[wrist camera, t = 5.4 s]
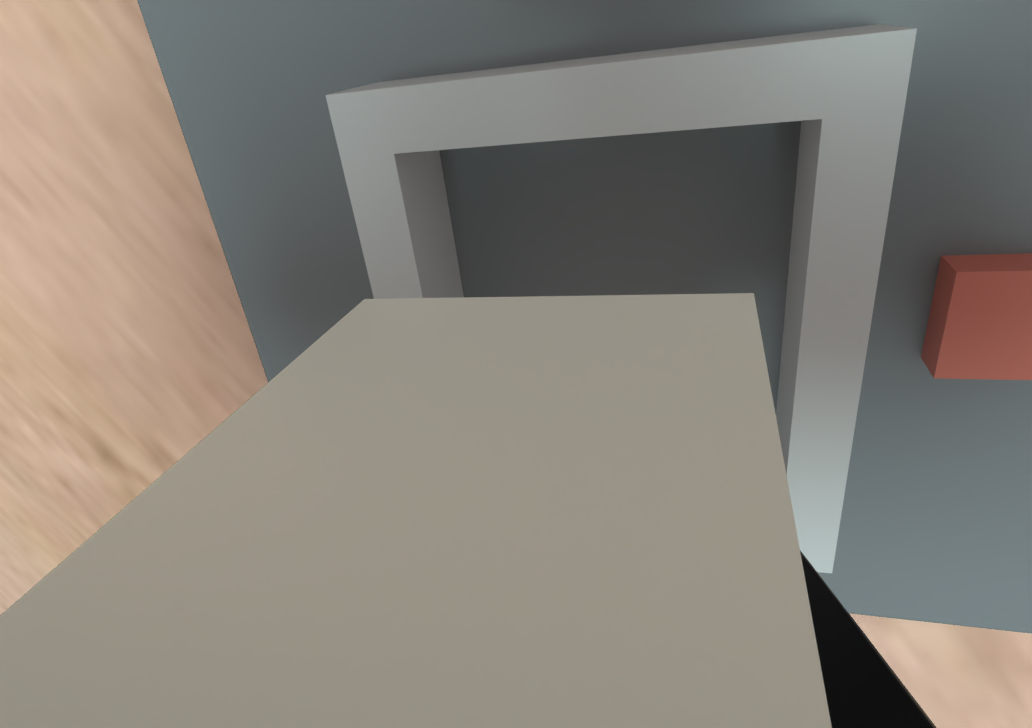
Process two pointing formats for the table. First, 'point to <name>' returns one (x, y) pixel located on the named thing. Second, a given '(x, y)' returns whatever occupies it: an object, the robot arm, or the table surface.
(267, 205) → the socket plate
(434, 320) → the pale grey cuboid block
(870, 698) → the robot arm
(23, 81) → the table surface
